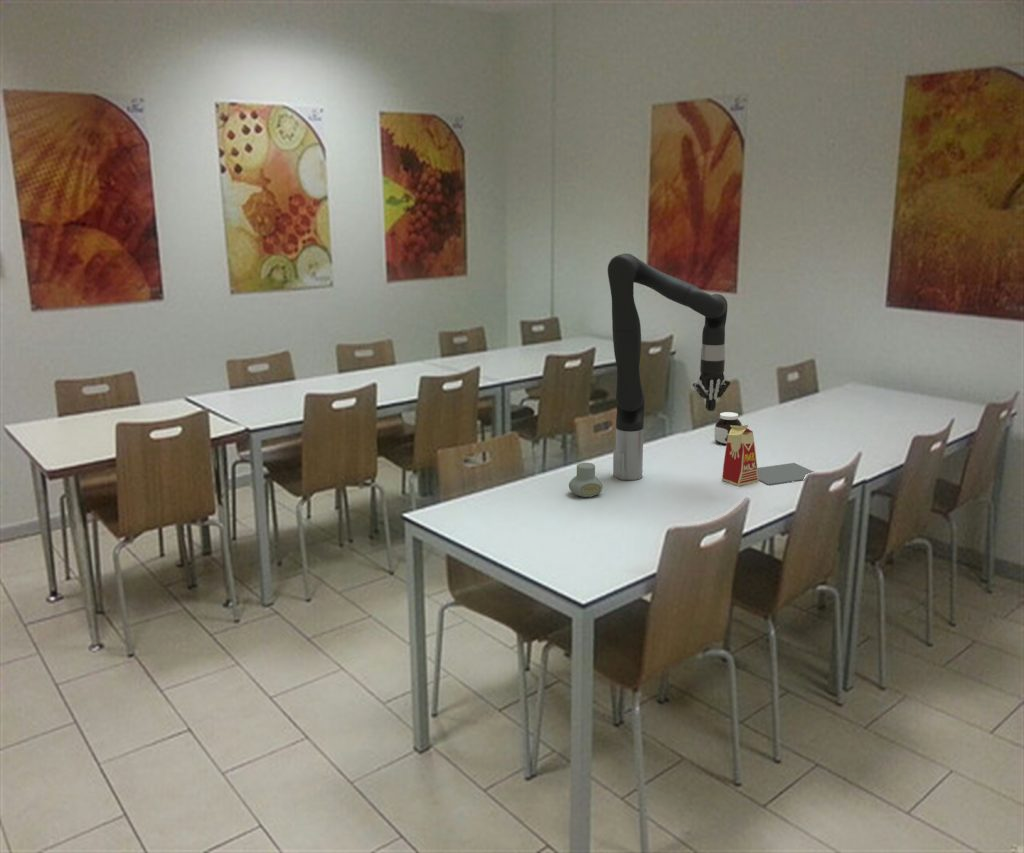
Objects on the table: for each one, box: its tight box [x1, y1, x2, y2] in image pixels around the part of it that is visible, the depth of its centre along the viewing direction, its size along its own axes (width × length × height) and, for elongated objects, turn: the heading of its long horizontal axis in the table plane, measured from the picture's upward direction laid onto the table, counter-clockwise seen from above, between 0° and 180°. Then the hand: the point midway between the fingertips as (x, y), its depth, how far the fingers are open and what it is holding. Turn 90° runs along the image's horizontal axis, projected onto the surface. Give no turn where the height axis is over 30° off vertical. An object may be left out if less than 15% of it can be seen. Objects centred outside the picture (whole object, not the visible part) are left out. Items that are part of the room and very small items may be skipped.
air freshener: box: [568, 462, 604, 498], centre depth 278 cm, size 11×8×10 cm
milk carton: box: [721, 424, 760, 487], centre depth 287 cm, size 9×9×20 cm
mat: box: [757, 462, 815, 486], centre depth 294 cm, size 22×16×1 cm
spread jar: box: [714, 411, 743, 447], centre depth 331 cm, size 12×11×12 cm
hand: (710, 410), depth 279 cm, fingers closed
